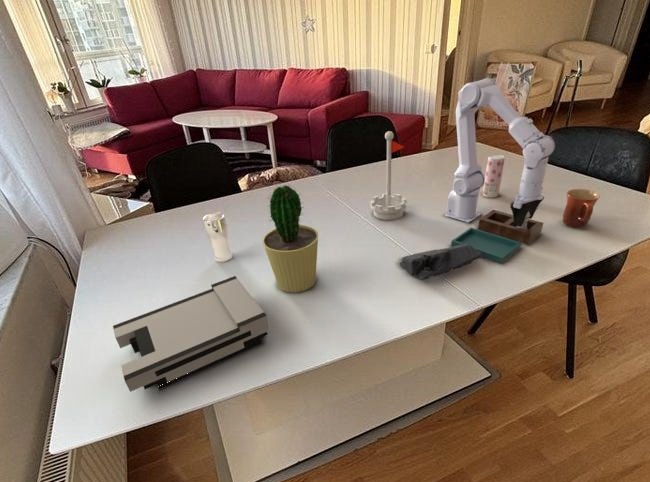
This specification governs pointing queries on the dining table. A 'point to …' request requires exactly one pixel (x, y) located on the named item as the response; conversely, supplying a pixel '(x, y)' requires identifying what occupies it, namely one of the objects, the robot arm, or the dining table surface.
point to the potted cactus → (290, 243)
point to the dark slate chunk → (439, 260)
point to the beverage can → (493, 176)
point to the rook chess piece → (525, 222)
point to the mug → (579, 207)
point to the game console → (191, 335)
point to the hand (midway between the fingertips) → (522, 221)
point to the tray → (488, 244)
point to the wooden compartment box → (509, 227)
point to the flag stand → (389, 189)
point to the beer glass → (218, 235)
